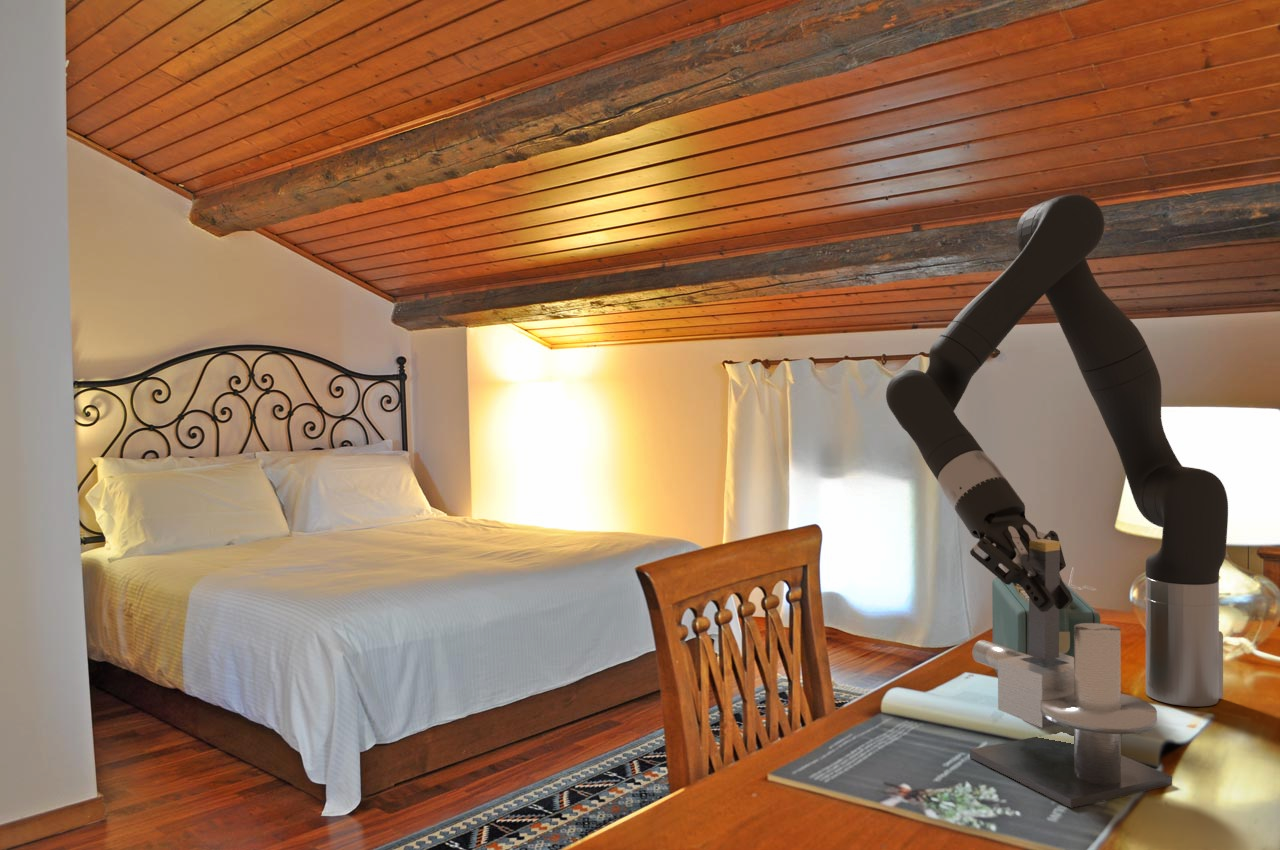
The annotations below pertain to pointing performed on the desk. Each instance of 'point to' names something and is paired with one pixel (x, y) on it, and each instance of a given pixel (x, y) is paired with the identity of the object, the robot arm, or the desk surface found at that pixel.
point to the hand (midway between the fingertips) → (1057, 605)
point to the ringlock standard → (1071, 720)
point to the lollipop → (1077, 586)
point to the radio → (1014, 618)
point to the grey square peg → (1048, 570)
